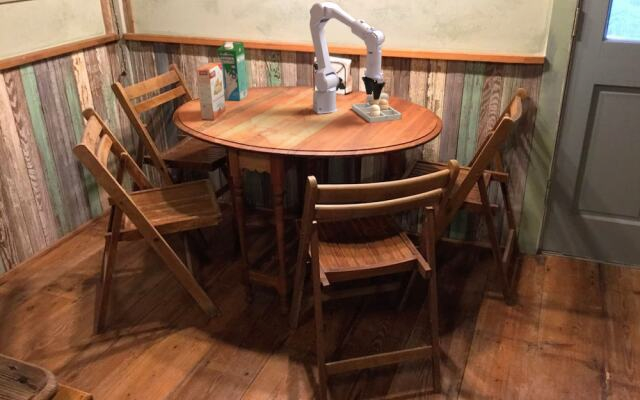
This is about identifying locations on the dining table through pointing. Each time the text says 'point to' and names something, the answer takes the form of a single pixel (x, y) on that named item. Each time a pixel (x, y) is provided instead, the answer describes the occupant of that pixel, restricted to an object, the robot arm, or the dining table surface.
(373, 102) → the brown egg
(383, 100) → the brown egg
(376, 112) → the cream egg
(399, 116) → the egg carton
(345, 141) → the dining table surface
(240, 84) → the milk carton
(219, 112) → the cracker box
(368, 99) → the donut
